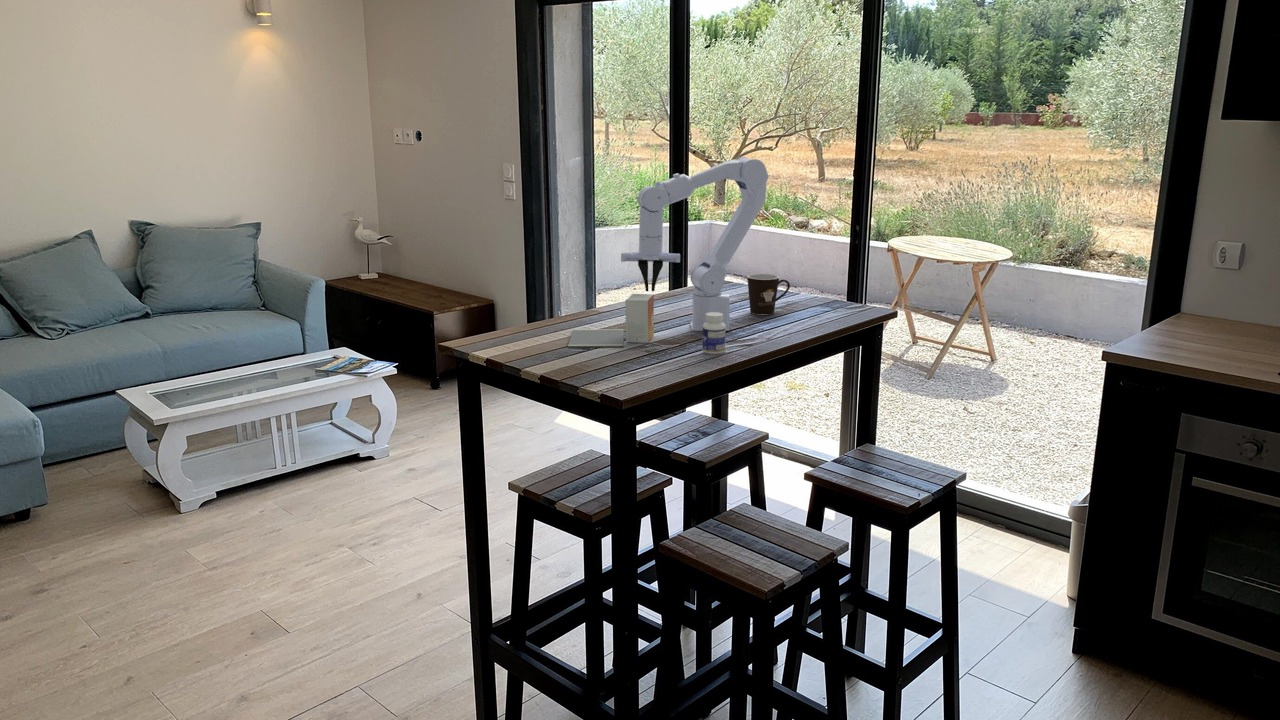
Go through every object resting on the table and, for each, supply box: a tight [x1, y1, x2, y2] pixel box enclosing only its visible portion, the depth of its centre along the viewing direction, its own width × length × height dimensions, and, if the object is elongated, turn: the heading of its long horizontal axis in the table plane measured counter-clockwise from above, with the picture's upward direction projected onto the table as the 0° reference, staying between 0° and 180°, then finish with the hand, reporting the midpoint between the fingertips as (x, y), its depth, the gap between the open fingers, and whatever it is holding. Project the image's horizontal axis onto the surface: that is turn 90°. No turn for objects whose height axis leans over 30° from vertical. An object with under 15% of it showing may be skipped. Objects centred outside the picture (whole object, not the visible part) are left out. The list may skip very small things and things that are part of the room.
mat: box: [567, 328, 625, 349], centre depth 225 cm, size 13×16×1 cm
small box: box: [624, 293, 655, 344], centre depth 224 cm, size 8×6×10 cm
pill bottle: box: [702, 312, 727, 355], centre depth 213 cm, size 5×5×9 cm
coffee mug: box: [746, 273, 791, 315], centre depth 251 cm, size 12×9×10 cm
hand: (649, 290), depth 230 cm, fingers closed
